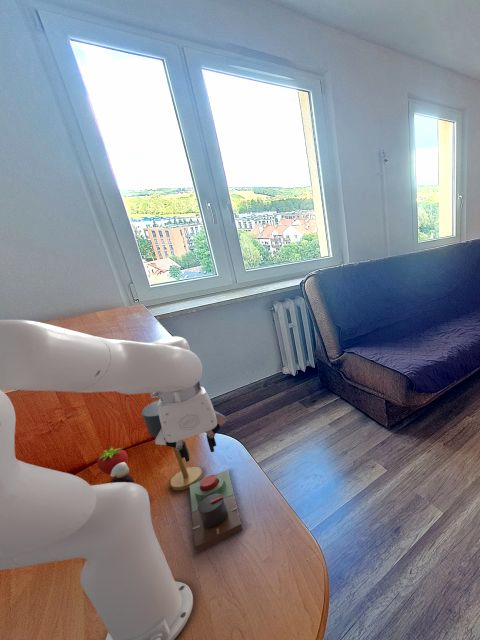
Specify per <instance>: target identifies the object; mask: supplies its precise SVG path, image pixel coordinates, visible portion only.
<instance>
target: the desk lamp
mask: <svg viewBox="0 0 480 640" xmlns="http://www.w3.org/2000/svg"><path fill="white" fill-rule="evenodd" d="M158 401H159V399H157V400H154V401H152V402H151V403H148V404H147V405H146V406H144V408H143V409H142V410H141V416H142V418H143V421H144V424H145V426H146V429H147V431H148V434H149V436H151V437H154V438H156V437H157V435H158V434H159V432H160V430H161V428H162V426H161V423H160V418H159V413H158ZM172 448H173V447H172ZM173 452H174V454H175V457H176V460H177V463H178V466H179V469H180V470H179V471H178V472H177V473H175V474H174V475H173V476H172V477H171V479H170V482H169V485H170V488H172V490H174V491H184V490H187V489H190V487H189V485H192V484H194V483H197V482H199V481H201V480H202V478H203V471H202V468H200V466H199V467H198V466H189V467H187V466H186V462H185V461H184V460H185V459H184V458H181V456H180V453H179V450H177V449H176V448H173Z"/></svg>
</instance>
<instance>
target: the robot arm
mask: <svg viewBox="0 0 480 640" xmlns="http://www.w3.org/2000/svg"><path fill="white" fill-rule="evenodd" d="M202 375H203V364H202V361H201V359H200V357H199V356H198V355H197V354H196V353H194V352H193V351H192V350H191V348H190V345H189V341H188V340H187V339H186V338H184V337H181V336H167V337H166V336H165V337H162V338H159V339H156V340H153V341H151V342H141V341H135V340H134V341H133V340H127V339H126V340H125V339H115V338H114V339H112V338H105V337H100V336H96V335H92V334H89V333H84V332H80V331H76V330H73V329H69V328H64V327H61V326H57V325H53V324H49V323H44V322H40V321H35V320H28V319H0V571H2V570H3V571H4V570H13V569H19V568H20V569H21V568H25V567H31V566H37V565H42V564H49V563H54V562H59V561H61V562H62V561H68V560H69V561H70V560H74V559H75V560H76V559H85V560H86V561H85V563H84V565H82V569H81V571H80V575H79V582H80V586H81V588H82V590H83V592H84V593H85V595H86V596H87V599H88V600H89V601H90V603H91V605H92V607H93V608H94V610H95V612H96V614H97V615H98V617H99V619H100V620H101V622H102V625H104V627H105V630H106V631H107V634H106V637H105V640H175V639H176V638H177V636H178V635H180V633H181V632H182V630H183V629H184V627H185V626H186V624H187V622H188V621H189V618H190V616H191V614H192V611H193V608H194V607H193V606H194V595H193V592H192V589H190V587H189V585H187V584H186V583H184V582H181V581H176V580H175V578H174V576H173V573H172V571H171V569H170V566H169V564H168V562H167V559H166V556H165V553H164V552H163V550H162V547H161V545H160V543H159V540H158V538H157V535H156V533H155V530H154V526H153V523H152V515H151V501H150V496H149V492H148V491H147V489H146V488H145V487H144V486H142V485H140V484H139V483H136V482H135V483H129V482H116V483H114V482H108V483H100V484H94V485H91V484H90V483H89V482H88V481H86V480H84V479H83V478H82V477H79V476H77V475H74V474H72V473H68V472H63V471H59V470H55V469H53V468H52V469H51V468H48V467H43V466H39V465H35V464H31V463H27V462H25V461H23V460H19V459H17V457H16V445H15V442H16V441H15V440H16V439H15V436H16V422H17V419H16V418H17V417H16V411H15V407H14V404H13V403H12V401H11V399H10V397H9V396H8V395H7V394H6V392H4V391H35V392H36V391H37V392H41V391H42V392H45V391H46V392H66V393H81V394H82V393H85V394H86V393H87V394H88V393H89V394H90V393H92V394H93V393H109V392H116V393H119V394H122V395H139V394H149V395H150V399H151V400H154V399H155V400H156V399H157V400H159V401H158V413H159V418H160V423H161V426H162V428H161V430H160V432H159V434H158V435H157V437H155V439H154V443H155V445H159V446H166V447H169V448H176V449H177V450H179V453H180V456H181V458H183V459H184V460H185V463H189V461H190V460H191V459H190V451H189V449H188V446H187V443H186V441H184V440H186V439H189V438H192V437H195V436H198V435H201V434H203V433H205V435H206V441H207V444H208V447H209V451H210V453H214V452H215V448H214V447H216V446H217V441H216V439H215V436H216V433H217V432H219V430H220V429H221V427H222V426H223V425H224V424H225V423H226V422H227V421H228V418H227V416H226V415H224V414H222V413H221V412H219V411H217V410H215V409H214V406H213V403H212V401H211V398H210V395H209V393H208V392H207V390H206V389H205V387H204V386H202V385H201V384H200V380H201V378H202Z"/></svg>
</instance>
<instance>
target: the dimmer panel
mask: <svg viewBox="0 0 480 640" xmlns="http://www.w3.org/2000/svg"><path fill="white" fill-rule="evenodd" d="M234 496H235V494H234V495H232V496H229V497H227V498H225V499H224V501H225V505H226V508H227V512H228V516H227V518H226V520H225V521H224V522H223V523H222V524H220V525H219V526H217V527H214V528H205V527H204V526H203V523H202V520H201V517H200V514H199V511H196V512H194V513H192V512H191V514H190V515H191V523H192V528H191V531H192V535H193V546H194V550H195V552H196V554H199V553H200V552H202V551H204V550H206V549H208V548H210V547H212V546H214V545H216V544H218V543H221V542H222V541H224V540H225V539H226V540H227V539H228V538H230V537H232V536H234V535H236V534H238V533H239V532H242V531H243V530H244V529H243V525H242V521H241V518H240V513H239V510H238V509H239V508H238V505H237V501H236V496H235V497H234Z"/></svg>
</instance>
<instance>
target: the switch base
mask: <svg viewBox="0 0 480 640" xmlns="http://www.w3.org/2000/svg"><path fill="white" fill-rule="evenodd" d="M214 475H215V476H216V477H217V480H218V485H217V486H216V487H215V488H213V489H211V490H209V491H203V490H202V488H201V485H200V482H201V481H202V479H200V480H199V481H198V482H197V483H194V484H192V485H189V487H190V488H189V497H190V507H191V514H192V513H194V512H196V511H198V506H199V504H200V502H201V501H202V500H203V499H205V498H206V497H208V496H210V495H213V494H221V495H222V496H223V498H224V499H225V498H227V497H229V496H232V495H234V497H235V498H236V496H235V493H234V488H233V483H232V480H231V476H230V472H229V469H226V470H223V471H221V472H219V473H216V474H214Z"/></svg>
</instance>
